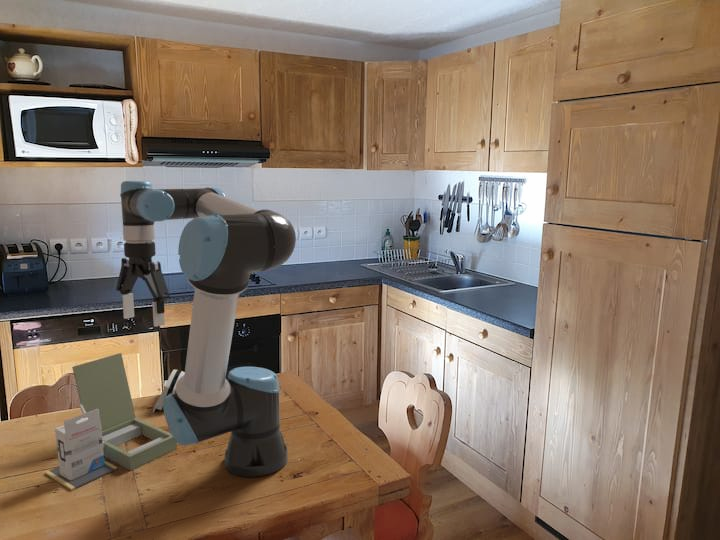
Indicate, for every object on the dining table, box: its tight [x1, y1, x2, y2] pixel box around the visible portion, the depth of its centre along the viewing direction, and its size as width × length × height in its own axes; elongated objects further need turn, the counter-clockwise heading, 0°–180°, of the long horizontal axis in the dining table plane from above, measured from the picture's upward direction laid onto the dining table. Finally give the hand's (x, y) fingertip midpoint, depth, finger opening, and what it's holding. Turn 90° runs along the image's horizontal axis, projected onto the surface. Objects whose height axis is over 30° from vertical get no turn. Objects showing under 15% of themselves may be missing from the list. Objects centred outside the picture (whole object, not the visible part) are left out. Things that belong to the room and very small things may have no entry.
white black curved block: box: [152, 369, 185, 413], centre depth 170 cm, size 17×5×10 cm, turn 8°
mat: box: [44, 459, 119, 492], centre depth 131 cm, size 12×11×1 cm
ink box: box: [54, 409, 105, 480], centre depth 129 cm, size 8×5×15 cm, turn 144°
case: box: [71, 352, 178, 471], centre depth 141 cm, size 23×14×21 cm, turn 55°
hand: (143, 321), depth 146 cm, fingers open, 13 cm apart
